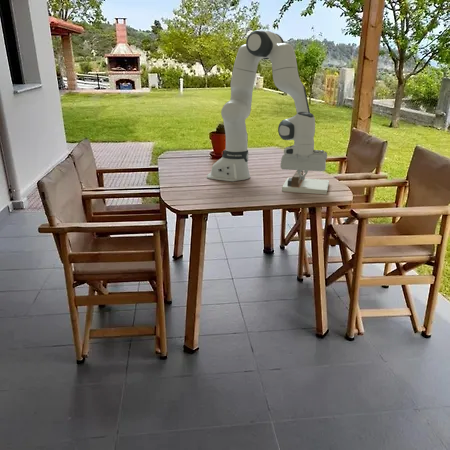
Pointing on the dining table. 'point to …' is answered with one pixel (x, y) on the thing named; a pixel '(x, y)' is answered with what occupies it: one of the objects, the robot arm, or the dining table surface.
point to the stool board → (307, 186)
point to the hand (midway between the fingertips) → (302, 179)
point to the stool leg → (296, 179)
